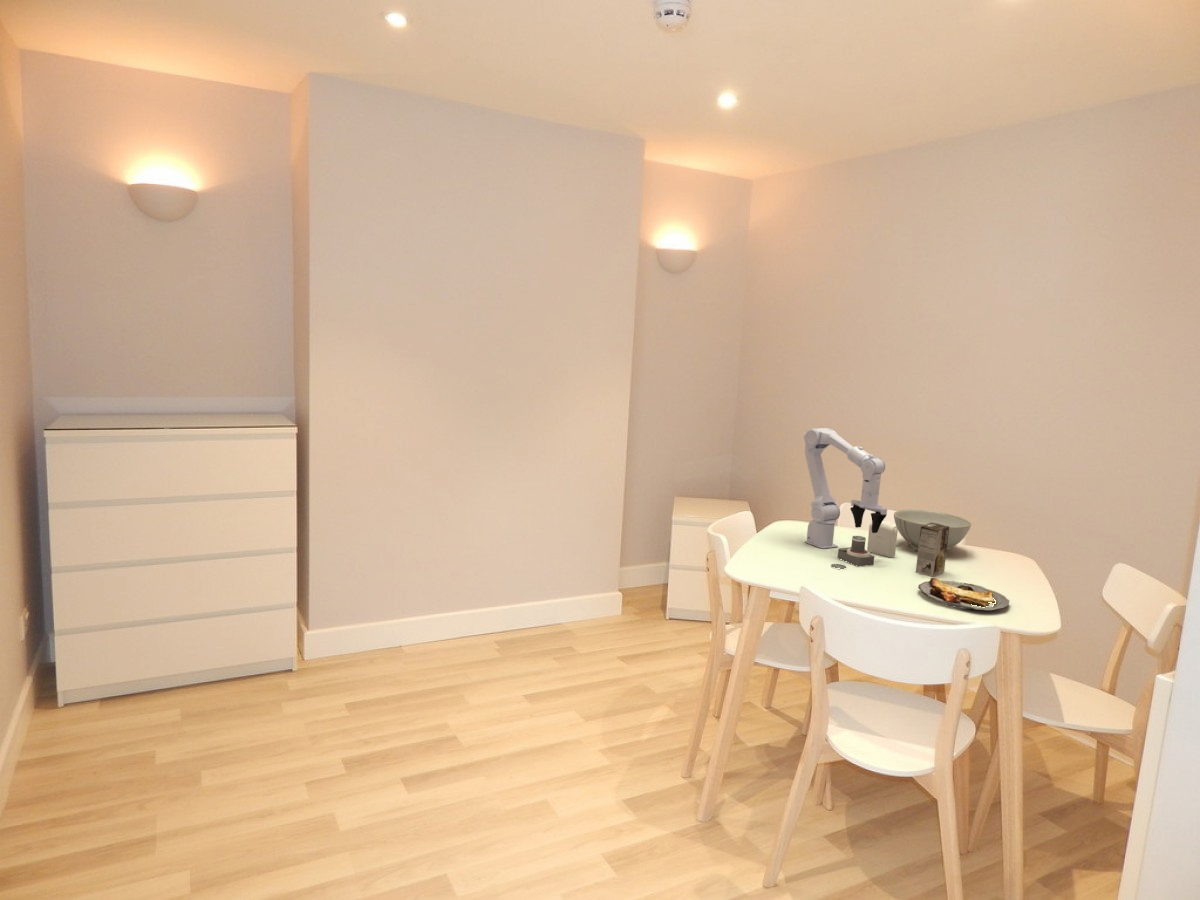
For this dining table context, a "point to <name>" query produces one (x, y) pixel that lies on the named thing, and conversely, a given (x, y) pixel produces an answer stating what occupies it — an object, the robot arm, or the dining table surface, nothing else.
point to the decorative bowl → (914, 519)
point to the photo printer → (883, 539)
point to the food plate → (963, 594)
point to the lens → (858, 544)
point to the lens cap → (838, 566)
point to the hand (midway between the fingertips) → (866, 529)
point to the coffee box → (932, 549)
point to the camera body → (855, 557)
